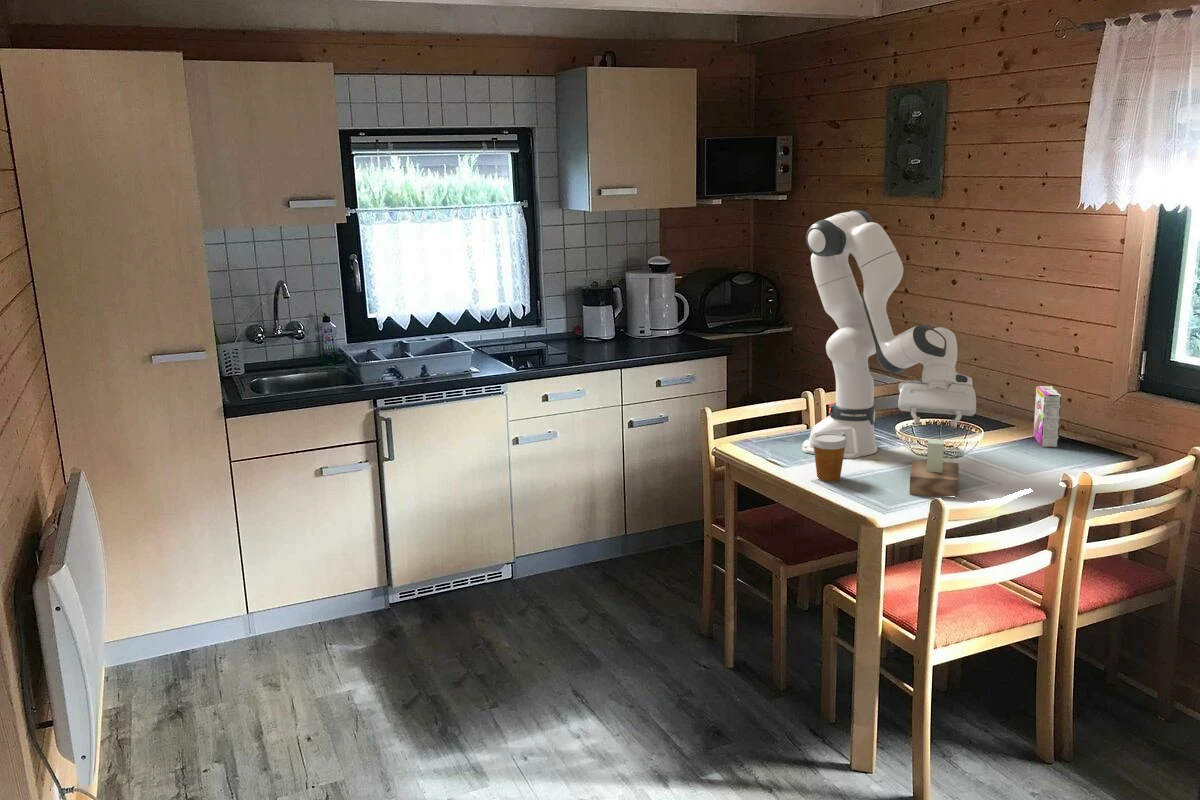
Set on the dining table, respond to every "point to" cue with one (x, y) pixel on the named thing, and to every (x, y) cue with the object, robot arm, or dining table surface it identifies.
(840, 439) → the disposable coffee cup
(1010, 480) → the dining table surface
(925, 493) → the walnut plinth
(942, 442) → the sage block
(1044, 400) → the candy bar box
